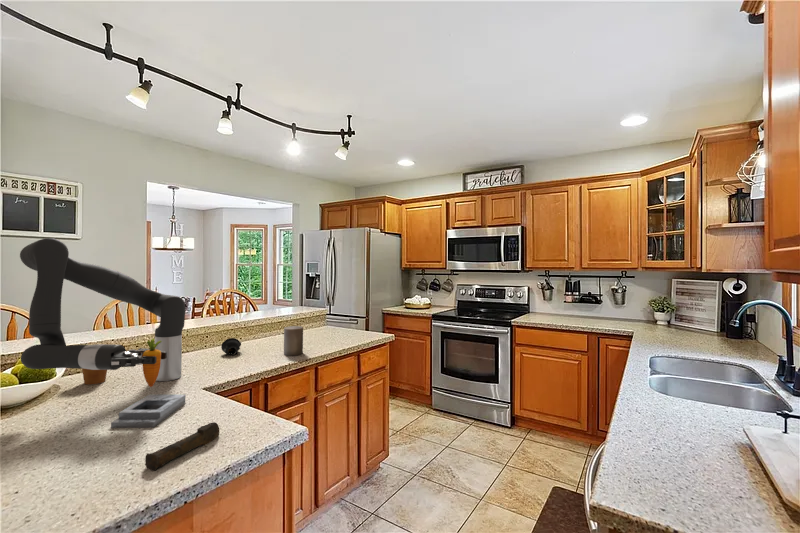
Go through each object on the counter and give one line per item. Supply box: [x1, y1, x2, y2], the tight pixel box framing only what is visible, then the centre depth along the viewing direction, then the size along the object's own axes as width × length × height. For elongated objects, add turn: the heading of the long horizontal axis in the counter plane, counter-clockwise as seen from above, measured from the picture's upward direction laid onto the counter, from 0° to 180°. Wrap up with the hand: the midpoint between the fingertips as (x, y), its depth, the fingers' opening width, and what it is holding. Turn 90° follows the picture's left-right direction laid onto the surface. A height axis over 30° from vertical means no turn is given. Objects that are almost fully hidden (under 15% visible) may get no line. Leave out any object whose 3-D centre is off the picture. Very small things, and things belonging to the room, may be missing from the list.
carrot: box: [142, 338, 162, 388], centre depth 114 cm, size 5×5×15 cm
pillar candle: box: [283, 325, 304, 357], centre depth 193 cm, size 10×10×15 cm
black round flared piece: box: [221, 337, 242, 356], centre depth 192 cm, size 9×11×18 cm
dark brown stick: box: [144, 421, 220, 472], centre depth 93 cm, size 19×4×5 cm, turn 155°
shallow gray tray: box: [110, 393, 186, 429], centre depth 114 cm, size 18×12×3 cm, turn 5°
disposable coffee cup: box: [81, 369, 108, 386], centre depth 142 cm, size 10×10×12 cm
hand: (160, 357), depth 114 cm, fingers closed on carrot, 5 cm apart
